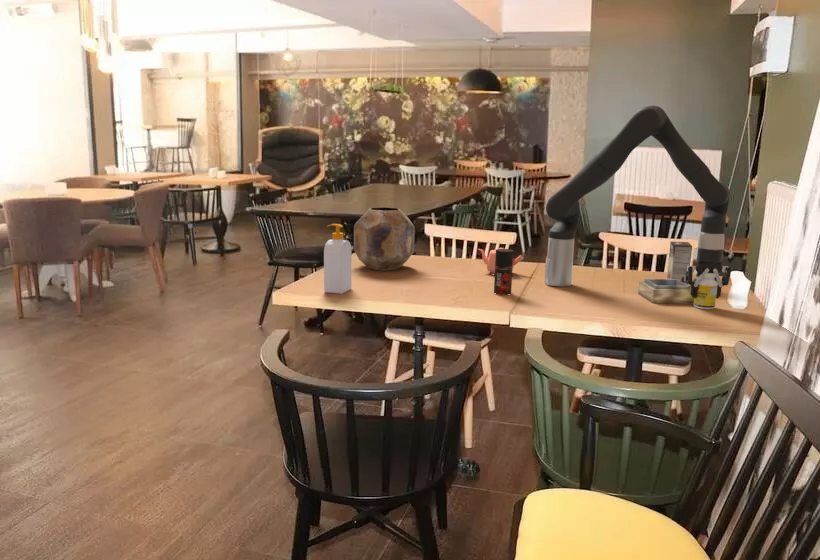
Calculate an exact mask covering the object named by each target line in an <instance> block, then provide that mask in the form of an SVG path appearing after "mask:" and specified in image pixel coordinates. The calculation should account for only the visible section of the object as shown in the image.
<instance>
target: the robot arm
mask: <svg viewBox="0 0 820 560" xmlns="http://www.w3.org/2000/svg"><path fill="white" fill-rule="evenodd" d="M651 136H652V137H653V138H654V139H656V141H657V142H659V144H661V146H663V148H664V149H665V151H666V152H667V154H668V155H669V157H670V160H671V162H672V163H673V164H674V166H675V168H676V169H677V170H678V172H679V173H681V175H682V176H683V177H684V178H685V179H686V180H687V181H688V183H689V184H691V185H692V186H693V188H694V190H695V191H696V193H697V195H699V196H700V198H701V199H702V200H703V202H705V204H704V213H703V216H702V219H701V225H700V232H699V238H698V243H697V252H696V253H697V254H696V263H695V265H690V266H689V265H687V266H686V283H687V284H688V285H689V286H691V287H690V288H691V293H690V294H691V296H692V297H693V298H697V291H698V287H697V286H698V284H699V283H700V282H701V281H702V280H703V278H704V277H705V274H706V273H714V274H715V278H714V280H716V281H717V283H718V286H717V294H716V300H717V299H719V297H721V296H722V295H721V293H722V289H723V288H722V287H725V286H728V285H729V283H730V279H731V278H730V277H731V274H732V267H731V266H728V265H725V266H724V265H723V264H722V262H723V258H724V257H723V256H724V250H725V249H724V248H725V231H726V224H727V223H726V221H727V219H726V218H727V213H728V208H729V204H730V203H729V202H730V196H731V193H730V188H729V187H728V186H727V185H726V184H724V183H722V182H720V181H719V180H718V179H717V177H715V176H714V175H713V174H712V171H711V170H710V168H709V166H708V165H706V162H704V161H703V160H702V159H701V157H700V156H698V155H697V153H696V152H695V151H694V150H693V149H692V148H691V146H690V145H689V144H688V143H687V142H686V141H685V140H684V138H683V137H682V135H681V134H680V133H679V132H678V130H677V129H676V127H675V126H674V124H673V122H672V121H671V120H670V118H669V116H668V114H667V113H666V111H665V110H664V109H663V108H662V107H660V106H658V105H649V106H644V107H642V108H640V109H638V110H637V111H636V112H634V114H632V116H631V117H630V118H629V120H628V121H627V123H625V125H623V128H622V129H621V130H620V131H619V132H618V133H617V134H616V135H615V136H614V137H613V138H612V139H610V141H608V142H607V143H606V144H605V145H604V146H602V147H601V148H600V150H598V151H597V152H596V153H595V154H594V155H593V156H592V157H591V158H590V159H589V160H588V161H587V163H585V165H584V166H582V168H581V169H580V170H579V171H578V172H577V173H576V174H575V175H574V176H573V177H572V178H571V180H569V182H567V183H566V184H565V185H564V186H563V187H562V188H560V189H559V190H557V191H556V192H555V193H554V194H553V195H552V196H550V197H549V199H548V200H547V202H546V204H545V205H546V206H545V212H546V215H547V216H548V217H549V218H550V219H553V220H555V221H554V224H553V226H552V227H551V228H550V229H549V231H548V242H547V243H548V244H547V256H545V266H544V267H545V269H544V283H545V284H546V285H547V286H553V287H570V286H572V279H573V264H574V263H573V262H574V250H575V249H574V248H575V247H574V246H575V238H576V237H575V235H576V233H577V231H578V227H579V218H580V200H581V199H582V198H583V197H585V196H586V195H587V194H590V193H591V192H592V191H595V190H596V189H598V188H600V187H601V186H602V185H604V184H605V183H606V182H607V181H609V180H610V179H611V178H612V177H613V176H615V174H616V173H617V172H618V171H619V170H620V169H621V167H622V166H623V165H624V164H625V162H626V161H627V159H628V158H629V156H630V155H631V153H632V152H633V151H634V150H635V149H637V147H638V146H639V145H641V144H642V143H643V142H644V141H646V140H647V139H648V138H649V137H651ZM721 271H722V272H721ZM694 272H696V273H695V275H694V277H693V273H694ZM720 272H721V273H722V277H720V275H719V274H720Z"/></svg>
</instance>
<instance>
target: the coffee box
mask: <svg viewBox="0 0 820 560" xmlns="http://www.w3.org/2000/svg"><path fill="white" fill-rule="evenodd" d="M669 245H670V246H669V252H668V253H669V255H668V265H667V277H666V279H677V280H679V281H681V282H683V283H685V284H687V283H686V266H687V265H689V266H691V263H692V262H691V259H692V251H693V245H691V243H690V242H689V241H670V243H669ZM687 285H689V284H687Z"/></svg>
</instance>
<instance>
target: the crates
mask: <svg viewBox="0 0 820 560" xmlns="http://www.w3.org/2000/svg"><path fill="white" fill-rule="evenodd" d="M637 288H638V289H637V294H638V295H639V296H641V297H643V298H644V299H646V300H647V301H648V302H650V303H652V304H691V305H692V304H694V298H693V297H692V296H691V294H690V293H691V285H689V284H688V285H687V284H685V283H683V282H681V281H679V280H677V279H667V278H644V279H643V280H639V281H638V287H637Z"/></svg>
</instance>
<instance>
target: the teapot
mask: <svg viewBox="0 0 820 560" xmlns="http://www.w3.org/2000/svg"><path fill="white" fill-rule="evenodd" d="M497 249H505V248H504V247H498V248H497ZM477 250H478V251H479V252H481V256H482V257H481V258H482V261H483V264H485V265H486V270H487V272H491V273H490V275H491V274H495V257H496V249H491V250H490V251H489V254H488V257H487V255H486V253H485V250H484V249H482V248H477ZM522 260H524V257H523V256H522V254H520V255H518V257H516V258H514V259H513V267H512V271H513V270H514V267H515V266H516V265H517V264H518V263H520V262H521V261H522Z"/></svg>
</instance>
